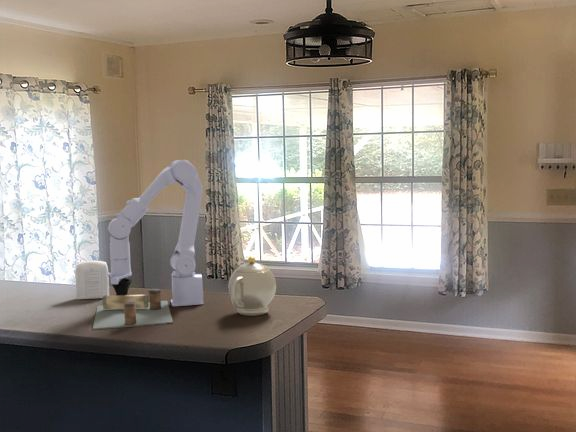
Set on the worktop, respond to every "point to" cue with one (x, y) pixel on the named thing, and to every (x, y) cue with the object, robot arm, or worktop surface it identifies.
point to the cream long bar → (120, 300)
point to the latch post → (130, 313)
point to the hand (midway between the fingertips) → (122, 303)
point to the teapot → (252, 288)
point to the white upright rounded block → (92, 279)
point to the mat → (143, 317)
